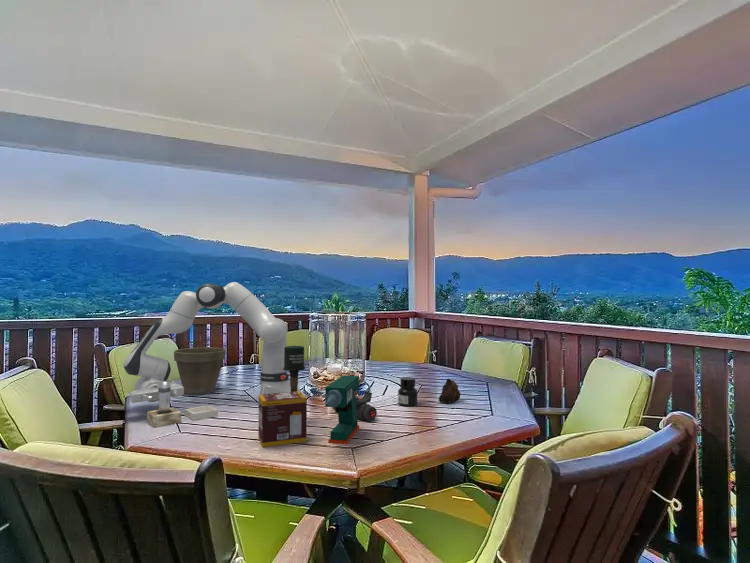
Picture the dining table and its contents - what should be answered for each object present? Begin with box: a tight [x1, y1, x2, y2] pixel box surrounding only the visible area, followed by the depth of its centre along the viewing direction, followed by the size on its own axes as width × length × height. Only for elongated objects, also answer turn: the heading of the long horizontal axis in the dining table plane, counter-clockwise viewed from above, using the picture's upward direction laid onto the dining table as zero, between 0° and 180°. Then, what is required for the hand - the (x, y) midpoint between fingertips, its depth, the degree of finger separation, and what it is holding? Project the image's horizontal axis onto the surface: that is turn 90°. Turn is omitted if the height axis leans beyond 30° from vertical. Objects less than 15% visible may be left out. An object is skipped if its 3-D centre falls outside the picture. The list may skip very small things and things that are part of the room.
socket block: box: [146, 406, 182, 428], centre depth 176 cm, size 10×10×4 cm
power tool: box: [324, 374, 360, 445], centre depth 154 cm, size 32×7×20 cm, turn 168°
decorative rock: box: [438, 378, 461, 404], centre depth 209 cm, size 12×6×11 cm, turn 130°
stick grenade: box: [283, 345, 306, 392], centre depth 176 cm, size 8×9×30 cm
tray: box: [184, 404, 219, 421], centre depth 185 cm, size 10×10×3 cm
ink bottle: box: [397, 376, 418, 407], centre depth 204 cm, size 10×9×12 cm
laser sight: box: [332, 391, 378, 422], centre depth 185 cm, size 10×22×10 cm, turn 45°
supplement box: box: [257, 390, 308, 448], centre depth 155 cm, size 10×15×16 cm
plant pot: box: [173, 346, 227, 395], centre depth 228 cm, size 25×25×22 cm
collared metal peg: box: [158, 380, 171, 415], centre depth 176 cm, size 4×4×16 cm
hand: (162, 397), depth 178 cm, fingers open, 8 cm apart
